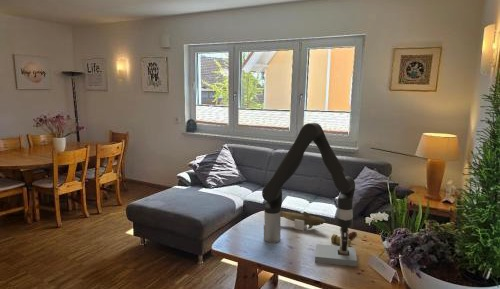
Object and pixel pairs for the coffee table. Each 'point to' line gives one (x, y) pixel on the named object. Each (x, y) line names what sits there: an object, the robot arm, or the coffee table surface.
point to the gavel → (337, 239)
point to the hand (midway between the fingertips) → (343, 246)
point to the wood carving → (302, 219)
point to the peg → (341, 248)
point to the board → (335, 255)
